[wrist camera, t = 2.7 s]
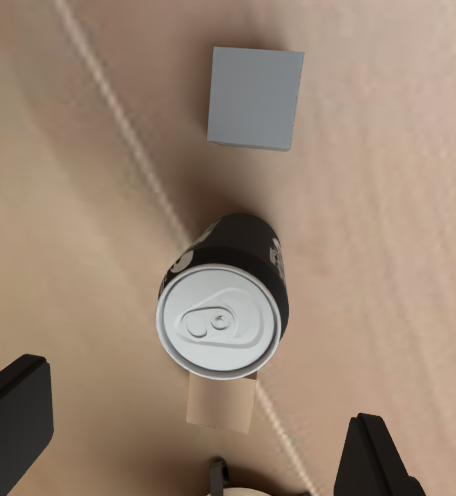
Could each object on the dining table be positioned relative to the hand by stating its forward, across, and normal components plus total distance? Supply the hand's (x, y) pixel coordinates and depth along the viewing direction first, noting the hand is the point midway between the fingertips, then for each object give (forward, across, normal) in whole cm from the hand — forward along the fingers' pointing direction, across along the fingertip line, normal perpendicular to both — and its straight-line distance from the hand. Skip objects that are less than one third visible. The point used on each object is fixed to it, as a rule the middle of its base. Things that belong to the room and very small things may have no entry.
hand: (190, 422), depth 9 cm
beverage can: (+17, 0, -1) cm, 17 cm away
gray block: (+17, 0, -12) cm, 20 cm away
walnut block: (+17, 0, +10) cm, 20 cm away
